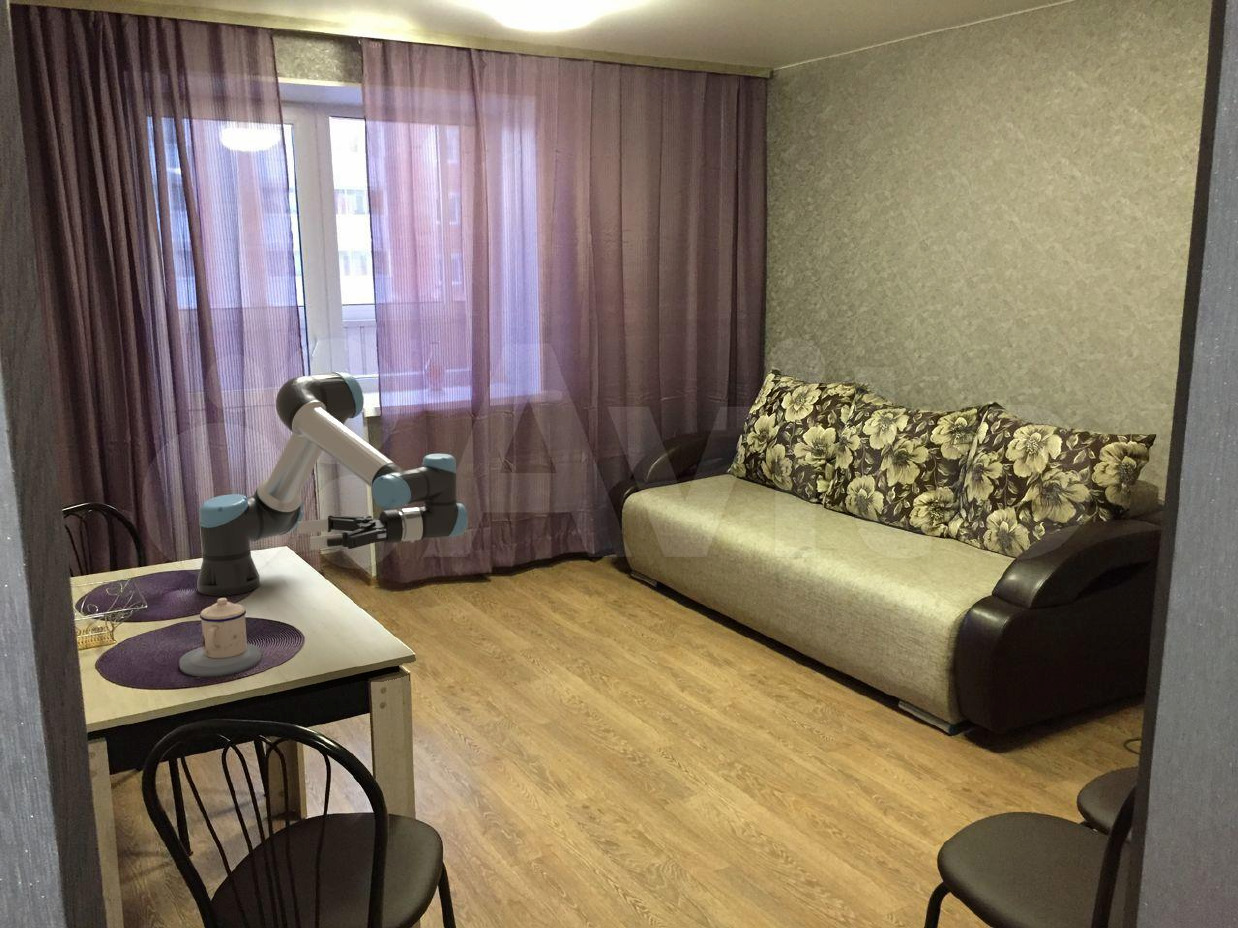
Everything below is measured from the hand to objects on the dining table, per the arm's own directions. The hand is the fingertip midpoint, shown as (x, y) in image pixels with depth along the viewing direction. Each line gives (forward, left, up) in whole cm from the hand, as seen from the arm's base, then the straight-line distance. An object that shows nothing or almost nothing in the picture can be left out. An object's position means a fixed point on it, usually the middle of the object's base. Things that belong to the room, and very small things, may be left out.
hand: (304, 535), depth 225 cm
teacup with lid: (+4, -19, -23) cm, 30 cm away
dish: (+5, -19, -24) cm, 31 cm away
